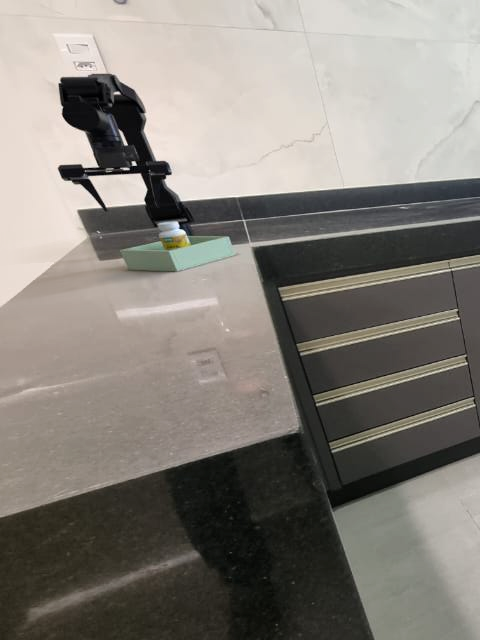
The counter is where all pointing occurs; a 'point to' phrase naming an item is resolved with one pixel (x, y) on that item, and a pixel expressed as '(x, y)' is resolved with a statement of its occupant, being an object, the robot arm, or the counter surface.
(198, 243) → the bin
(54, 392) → the counter surface
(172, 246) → the supplement bottle
